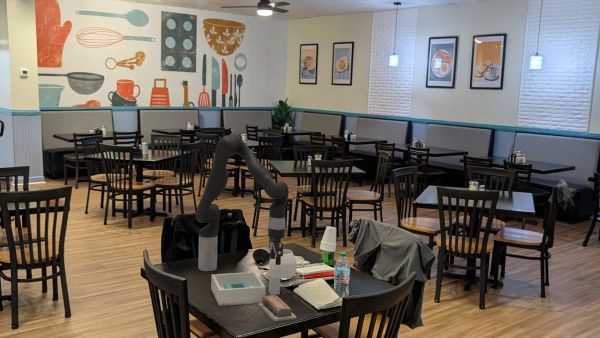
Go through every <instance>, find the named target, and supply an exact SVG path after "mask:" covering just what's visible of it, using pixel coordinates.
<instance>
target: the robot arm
mask: <svg viewBox="0 0 600 338" xmlns="http://www.w3.org/2000/svg"><path fill="white" fill-rule="evenodd" d="M234 155H238V156H239V157H241V158H242V159H243V161H244V162H245V165H246V168H247V170H248V173H249V175H251V177H252V178H253V179H254V180H255V181H256V182H257V183H258V184H259V185H260V186H261V188H262V190H263V191H264V192H265V194H266V195H267V196H268V197H269V198H270V199H273V202H272V203H270V205H269V213H268V226H267V228H268V229H267V237H268V238H269V239H268V248H269V250H270V252H269V253H270V257H269V258H270V259H275V254H276V262H275V264H276V265H280V264H281V256H283V249H284V243H283V242H282V239H284V238H285V235H286V206H287V203H288V199H289V194H290V190H289V187H288V184H287V183H286V182H284V181H277V182H276V181H274V179H273V178H274V175H273V173H272V172H271V171H270V170H269V169H268V168H267V167H266V166H264V165H263V163H262V162H261V161H260V160H259V159H258V158H257V157H256V156H255V154H254V153H253V151H251V149H250V147H249V146H248V145H247V144H246V142H245V141H244V140H243V139H242V137H241V136H240V135H238V134H235V133H231V134H228V135H226V136H223V137H221V138H219V140H218V141H217V144H216V148H215V153H214V157H213V158H214V159H213V162H212V165H211V168H210V172H209V175H208V178H207V181H206V185H205V188H204V190H203V193H202V197H200V199H199V202H198V205H197V207H196V210H195V219H196V222H198V223H200V224H206V225H205V226H204V227H202V228H200V229H199V232H198V261H197V262H198V265H197V266H198V270H200V271H202V272H212V271H215V270H217V268H218V264H217V263H218V236H219V235H218V232H219V230H220V229H219V228H220V217H221V216H220V215H221V214H220V213H221V211H220V206H218V204H216V203H214V201H215V200H216V199H218V197H220V196H221V195H222V194H223V193H224V191H225V190H226V187H227V184H228V181H229V173H228V169H227V165H228V162H229V159H230V157H232V156H234ZM279 253H280V254H279Z"/></svg>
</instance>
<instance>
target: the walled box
mask: <svg viewBox="0 0 600 338" xmlns="http://www.w3.org/2000/svg"><path fill="white" fill-rule="evenodd" d="M210 276H211V281H210V282H211V287H210V290H211V292H212V294H213V296H214V299H215V302H216V304H217V305H218V307H226V306H237V305H238V306H239V305H251V304H258V303H262V298H263V296H266V290H267V289H266V285H264V283H263V282H262V280H261V279H260V277H259V276H258V275H257V273H256V272H255V271H249V272H247V271H246V272H233V273H217V274H211V275H210Z"/></svg>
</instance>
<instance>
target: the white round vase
mask: <svg viewBox="0 0 600 338" xmlns="http://www.w3.org/2000/svg"><path fill="white" fill-rule="evenodd" d="M279 254H280V253H279ZM275 262H276V254H275V259H271V258H270V259H269V269H268V270H269V272H270V266H279V267H280V268H281V275H280V278H290V277H293V276H295V274H296V272H297V259H296V256H295V255H294V253H293V251H292V250H290V249H284V248H283V256H281V264H280V265H276V264H275ZM293 278H294V277H293Z"/></svg>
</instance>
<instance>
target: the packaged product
mask: <svg viewBox="0 0 600 338" xmlns="http://www.w3.org/2000/svg"><path fill="white" fill-rule="evenodd" d="M257 304H258V307H259V308H260V309H261V310H262V311H263V312H264V313H265V315H267V316H268V317H269V318H270V319H271V320H272V321H273V322H282V321H288V320H295V319H297V316H296V314H294V313H293V312H292V311H293V309H292V308H291V307H289V305H288V304H287V303H286V302H284V301H283V300H282V299H281V298H280V297H279V296H278V295H271V294H270V295H265V296H263V298H262V303H257Z"/></svg>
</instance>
